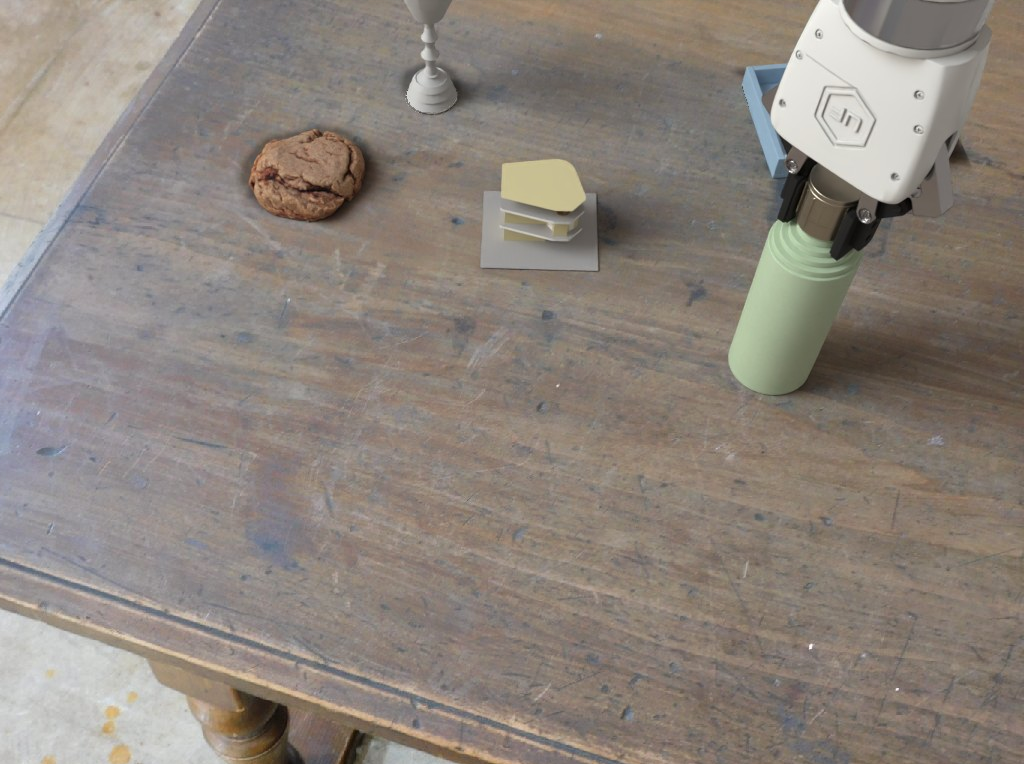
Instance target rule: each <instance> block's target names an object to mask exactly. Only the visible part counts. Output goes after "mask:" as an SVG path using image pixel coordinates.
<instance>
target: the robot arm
mask: <svg viewBox="0 0 1024 764" xmlns="http://www.w3.org/2000/svg"><path fill="white" fill-rule="evenodd" d="M996 2H997V0H819V1H818V2H817V4H816V6H815V8H814V9H813V11H812V14H810V17H809V19H808V21H807V22H806V25H805V27H804V29H803V31H802V33H801V34H800V37H799V39H798V41H797V43H796V45H795V47H794V49H793V51H792V53H791V55H790V58H789V60H788V62H787V63H788V65H787V67H786V69H785V72H784V74H783V77H782V79H781V82H780V83H779V84H778V85H776V86H775V87H774V88H772V89H771V90H769V91H768V92H766V93H765V94H764V95H763V96H762V98H761V100H762V103H763V105H764V107H765V109H766V110H767V112H768V113H769V115H770V116H771V123H772V125H773V127H774V129H775V130H776V131H777V133H778V134H779V137H780V139H781V142H782V144H783V147H784V149H785V151H786V154H787V157H786V158H785V160H784V166H785V168H786V170H787V171H788V172H789V173H788V176H787V177H786V179H785V182H784V185H783V186H782V187H783V188H782V190H781V193H780V198H781V199H782V203H781V206H780V208H779V211H778V213H777V217H776V218H777V220H780V221H781V222H783V223H785V222H786V223H788V222H789V221H791V220H792V219H793V218H795V217H796V209H797V206H798V203H799V201H800V198H801V195H802V192H803V190H804V187H805V184H806V181H808V178H809V175H810V173H811V170H812V168H813V167H814V166H815V165H816V164H817V163H819V164H821V165H822V166H824V167H825V168H827V169H828V170H830V171H831V172H833V173H834V174H836V175H837V176H839V177H840V178H842V179H843V180H845V181H847V182H848V183H850V184H851V185H853V186H854V187H856V188H857V189H859V190H860V191H861V193H860V198H859V202H858V205H857V208H854V209H852V210H851V211H850V212H848V213H847V214H846V216H845V217H844V219H843V222H842V224H841V226H840V229H839V231H838V233H837V236H836V238H835V240H834V243H833V245H832V247H831V250H830V252H829V253H830V254H831V255H830V256H831V257H832V258H833V259H835V260H836V261H838V260H839V259H841V258H842V257H843V256H844V255H846V254H847V253H848V252H849V251H851V250H852V249H853V248H854V249H855V250H856V251H860V250H862V249H863V248H865V247H867V245H868V244H869V243H870V242H871V241H872V240H873V238H874V237H875V234H876V233H877V231H878V228H879V226H880V224H881V221H882V219H889V218H896V217H904V216H906V214H908V215H912V216H915V217H924V218H932V219H937V218H940V217H941V216H943V215H944V214H945V213H947V211H949V210H950V209H951V208H953V206H954V205H955V198H954V190H953V182H952V174H951V166H950V157H951V155H952V153H953V152H954V150H955V149H956V148H955V147H956V145H957V144H958V141H959V139H960V136H961V134H962V132H963V130H964V128H965V125H966V123H967V120H968V118H969V115H970V113H971V110H972V107H973V105H974V102H975V100H976V97H977V93H978V91H979V87H980V84H981V82H982V79H983V75H984V71H985V67H986V63H987V59H988V55H989V52H990V51H989V50H990V46H991V39H992V33H993V31H992V28H991V27H990V26H989V25H987V21H988V18H989V17H990V14H991V13H992V11H993V9H994V6H995V4H996Z"/></svg>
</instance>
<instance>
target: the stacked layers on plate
mask: <svg viewBox="0 0 1024 764" xmlns="http://www.w3.org/2000/svg"><path fill="white" fill-rule="evenodd" d="M482 198H483V199H482V201H483V202H482V218H481V219H482V221H481V241H480V242H481V243H480V261H479V263H480V264H479V266H480V267H479V268H481V269H511V270H512V269H513V270H514V269H516V270H547V271H548V270H550V271H584V272H585V271H587V272H598V271H599V248H598V247H599V246H598V212H597V211H598V210H597V193H595V192H593V193H592V192H585V189H584V188H583V185H582V183H581V181H580V177H579V175H578V172H577V170H576V168H575V166H574V165H573V164H572V163H570V162H568V161H567V160H564V159H560V158H550V159H538V160H537V159H536V160H528V161H515V162H505V163H501V184H500V190H483V197H482Z"/></svg>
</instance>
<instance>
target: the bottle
mask: <svg viewBox="0 0 1024 764" xmlns="http://www.w3.org/2000/svg"><path fill="white" fill-rule="evenodd" d="M833 243H834V241H824V240H819V239H816V238H813V237H811V236H809V235H808V234H806V233H805V232H804V231H803V230H802V229H801V228H800V227H799V225H798V223H797V221H796V217H795V218H793V219H792V220H791V221H789V222H788V223H786V222H785V223H783V222H781V221H780V220H779V219H777V220H776V221H775V222H774V223H773V224H772V225H771V228H770V230H769V232H768V234H767V237H766V240H765V244H764V245H763V249H762V252H761V255H760V259H759V260H758V264H757V268H756V270H755V273H754V276H753V279H752V282H751V286H750V288H749V291H748V294H747V297H746V299H745V303H744V306H743V308H742V311H741V314H740V318H739V321H738V322H737V323H738V324H737V327H736V329H735V331H734V335H733V338H732V341H731V344H730V347H729V351H728V355H727V361H728V366H729V368H730V371H731V373H732V375H733V376H734V377H735V379H736V380H737V381H738V382H739V383H740V384H741V385H743V386H744V387H745V388H747V389H748V390H751V391H753V392H756V393H758V394H763V395H768V396H781V395H785V394H786V395H787V394H790V393H792V392H795V391H796V390H798V389H799V388H800V387H802V386H803V385H804V384H805V383H806V382H807V380H808V378H809V376H810V374H811V372H812V369H813V367H814V365H815V363H816V361H817V358H818V356H819V354H820V352H821V349H823V345H824V343H825V341H826V339H827V338H828V337H827V336H828V335H829V333H830V330H831V328H832V326H833V324H834V322H835V319H836V318H837V315H838V313H839V311H840V309H841V307H842V304H843V302H844V300H845V297H847V296H846V295H847V294H848V291H849V290H850V287H851V285H852V282H853V281H854V278H855V276H856V274H857V272H858V270H859V267H860V265H861V264H862V261H863V258H864V253H865V251H864V250H865V249H864V248H865V247H864V248H863V249H862V250H860V251H856V250H855V249H854V248H853V249H852V250H851V251H849V252H848V253H847V254H846V255H844V256H843V257H842V258H841V259H839V260H838V261H836V260H835V259H833V258H832V257H831V256H830V255H831V254H830V253H829V252H830V250H831V247H832V245H833Z"/></svg>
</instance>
